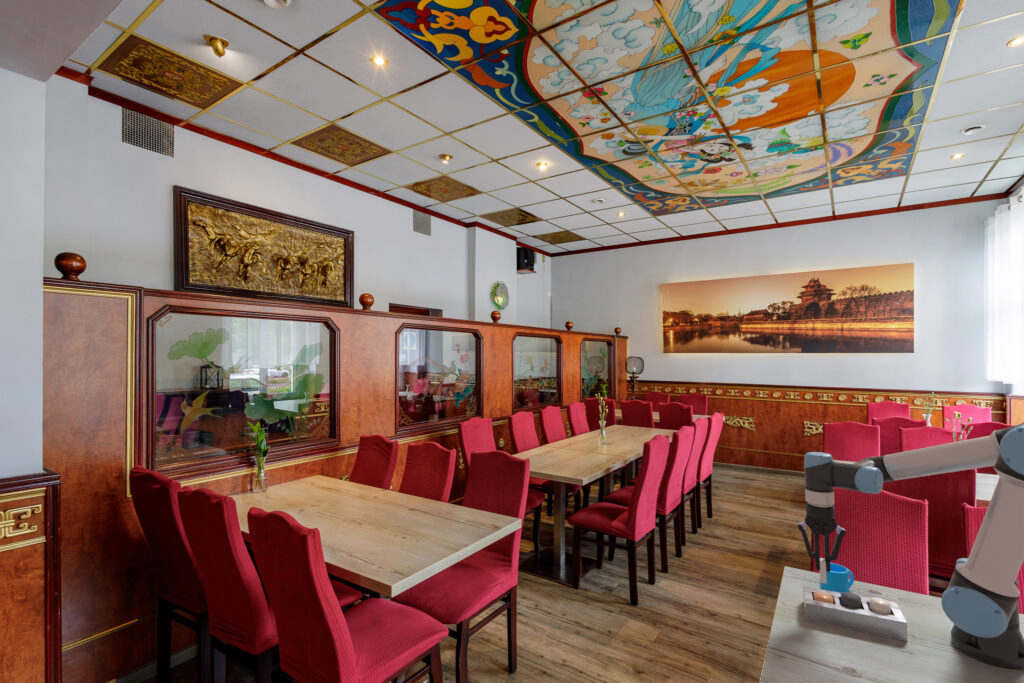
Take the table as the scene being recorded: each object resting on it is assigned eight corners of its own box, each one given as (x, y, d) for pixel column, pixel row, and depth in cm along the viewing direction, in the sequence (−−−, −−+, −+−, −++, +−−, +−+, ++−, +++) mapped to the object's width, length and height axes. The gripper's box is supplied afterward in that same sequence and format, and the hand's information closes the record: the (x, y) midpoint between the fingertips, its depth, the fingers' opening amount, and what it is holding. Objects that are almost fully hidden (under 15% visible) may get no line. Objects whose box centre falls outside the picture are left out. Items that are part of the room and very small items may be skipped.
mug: (835, 599, 155) (834, 574, 156) (814, 588, 163) (813, 563, 164) (865, 595, 158) (864, 570, 158) (842, 584, 166) (842, 560, 166)
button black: (860, 607, 145) (859, 594, 145) (862, 615, 140) (862, 601, 140) (840, 604, 147) (839, 590, 147) (842, 611, 142) (841, 598, 143)
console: (897, 619, 143) (896, 602, 143) (907, 641, 132) (906, 622, 133) (803, 601, 154) (803, 586, 154) (806, 620, 144) (805, 603, 144)
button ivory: (889, 613, 141) (888, 599, 141) (893, 621, 137) (892, 607, 137) (868, 609, 144) (867, 595, 144) (871, 617, 139) (870, 603, 139)
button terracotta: (832, 607, 148) (832, 594, 148) (834, 615, 143) (834, 601, 144) (813, 603, 150) (813, 590, 150) (814, 611, 146) (814, 598, 146)
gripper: (843, 502, 148) (847, 580, 147) (794, 497, 154) (797, 572, 153) (847, 509, 141) (850, 591, 141) (796, 504, 148) (799, 582, 147)
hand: (823, 581), depth 147 cm, fingers closed
